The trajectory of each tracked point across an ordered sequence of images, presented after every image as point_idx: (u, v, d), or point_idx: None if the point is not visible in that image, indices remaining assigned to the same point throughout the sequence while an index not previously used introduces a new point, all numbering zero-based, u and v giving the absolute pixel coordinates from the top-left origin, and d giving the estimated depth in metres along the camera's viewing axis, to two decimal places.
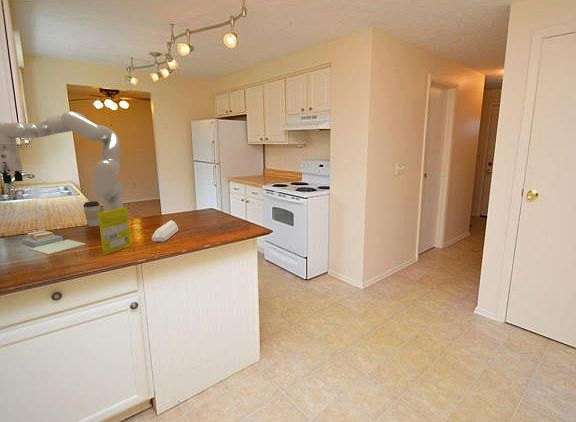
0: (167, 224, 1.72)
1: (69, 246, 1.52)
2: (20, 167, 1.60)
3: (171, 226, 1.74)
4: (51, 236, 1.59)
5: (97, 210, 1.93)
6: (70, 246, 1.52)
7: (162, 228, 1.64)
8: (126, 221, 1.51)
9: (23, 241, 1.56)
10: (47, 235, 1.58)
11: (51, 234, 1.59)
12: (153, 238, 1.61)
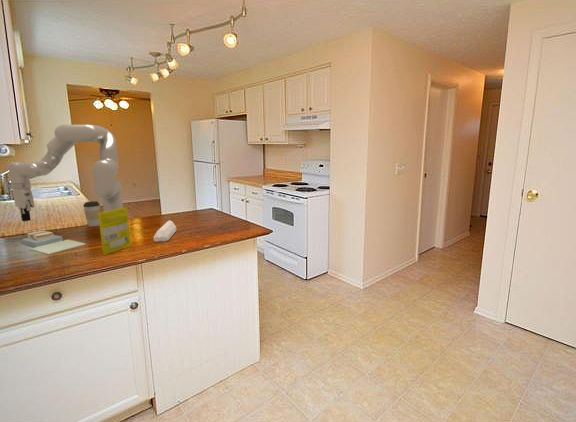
0: (167, 224, 1.72)
1: (69, 246, 1.52)
2: None
3: (171, 226, 1.75)
4: (51, 236, 1.59)
5: (97, 210, 1.93)
6: (70, 246, 1.52)
7: (163, 228, 1.65)
8: (126, 221, 1.51)
9: (23, 241, 1.56)
10: (47, 235, 1.58)
11: (51, 234, 1.59)
12: (155, 238, 1.61)
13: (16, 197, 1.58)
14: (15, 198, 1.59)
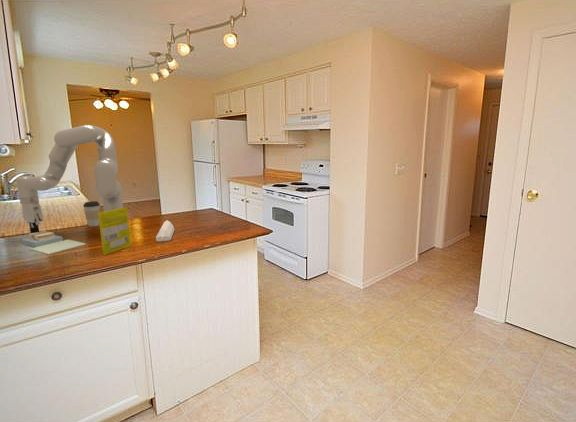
0: (166, 224, 1.72)
1: (69, 246, 1.52)
2: None
3: (170, 226, 1.75)
4: (52, 236, 1.59)
5: (97, 210, 1.93)
6: (70, 246, 1.52)
7: (165, 228, 1.65)
8: (126, 221, 1.51)
9: (23, 241, 1.56)
10: (48, 235, 1.57)
11: (52, 234, 1.59)
12: (158, 238, 1.61)
13: (25, 211, 1.57)
14: (24, 212, 1.58)
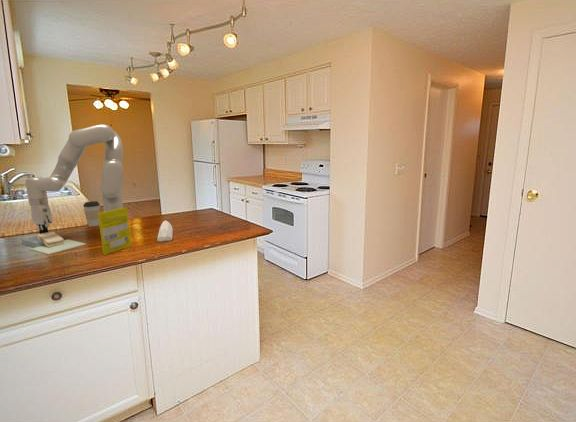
0: (166, 224, 1.72)
1: (69, 246, 1.52)
2: None
3: (169, 226, 1.75)
4: (61, 243, 1.55)
5: (97, 210, 1.93)
6: (70, 246, 1.52)
7: (166, 228, 1.65)
8: (126, 221, 1.51)
9: (23, 241, 1.56)
10: (58, 242, 1.53)
11: (62, 241, 1.55)
12: (159, 238, 1.61)
13: (34, 213, 1.53)
14: (33, 214, 1.54)
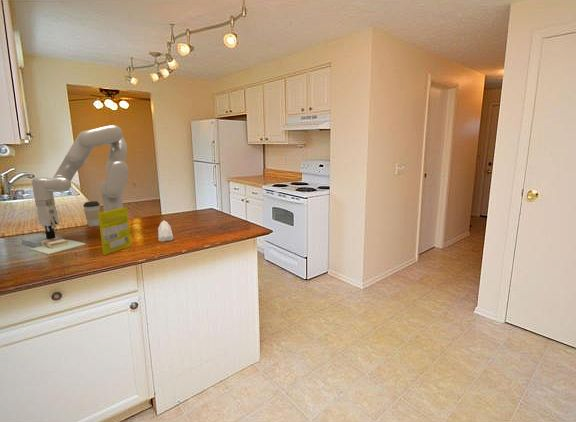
0: (165, 224, 1.72)
1: (69, 246, 1.52)
2: None
3: (169, 226, 1.75)
4: (65, 244, 1.54)
5: (97, 210, 1.93)
6: (70, 246, 1.52)
7: (167, 228, 1.65)
8: (126, 221, 1.51)
9: (23, 241, 1.56)
10: (61, 243, 1.52)
11: (65, 242, 1.54)
12: (161, 238, 1.61)
13: (40, 214, 1.51)
14: (39, 215, 1.52)
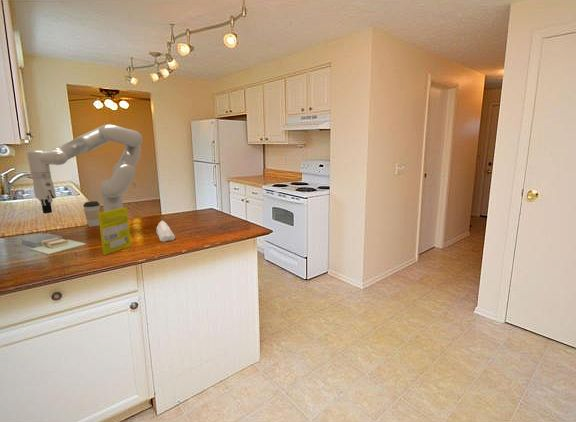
0: (165, 224, 1.72)
1: (69, 246, 1.52)
2: None
3: (168, 226, 1.75)
4: (65, 244, 1.54)
5: (97, 210, 1.93)
6: (70, 246, 1.52)
7: (168, 227, 1.66)
8: (126, 221, 1.51)
9: (23, 241, 1.56)
10: (61, 243, 1.52)
11: (65, 242, 1.54)
12: (163, 238, 1.61)
13: (36, 188, 1.48)
14: (35, 189, 1.49)
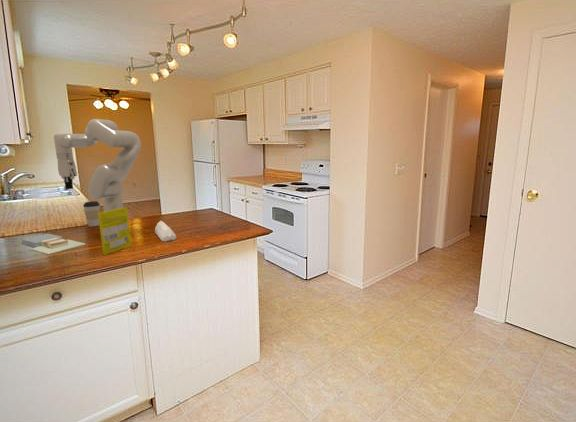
0: (165, 224, 1.72)
1: (69, 246, 1.52)
2: None
3: None
4: (65, 244, 1.54)
5: (97, 210, 1.93)
6: (70, 246, 1.52)
7: (168, 227, 1.66)
8: (126, 221, 1.51)
9: (23, 241, 1.56)
10: (61, 243, 1.52)
11: (65, 242, 1.54)
12: (164, 238, 1.61)
13: (61, 166, 1.72)
14: (59, 167, 1.73)
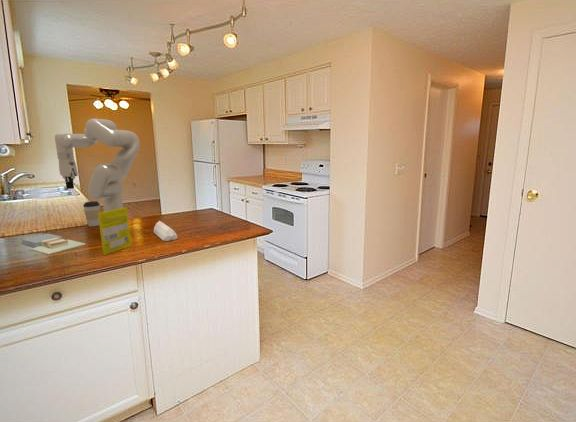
0: (164, 224, 1.72)
1: (69, 246, 1.52)
2: None
3: None
4: (65, 244, 1.54)
5: (97, 210, 1.93)
6: (70, 246, 1.52)
7: (169, 227, 1.66)
8: (126, 221, 1.51)
9: (23, 241, 1.56)
10: (61, 243, 1.52)
11: (65, 242, 1.54)
12: (166, 238, 1.62)
13: (62, 166, 1.74)
14: (60, 167, 1.75)
